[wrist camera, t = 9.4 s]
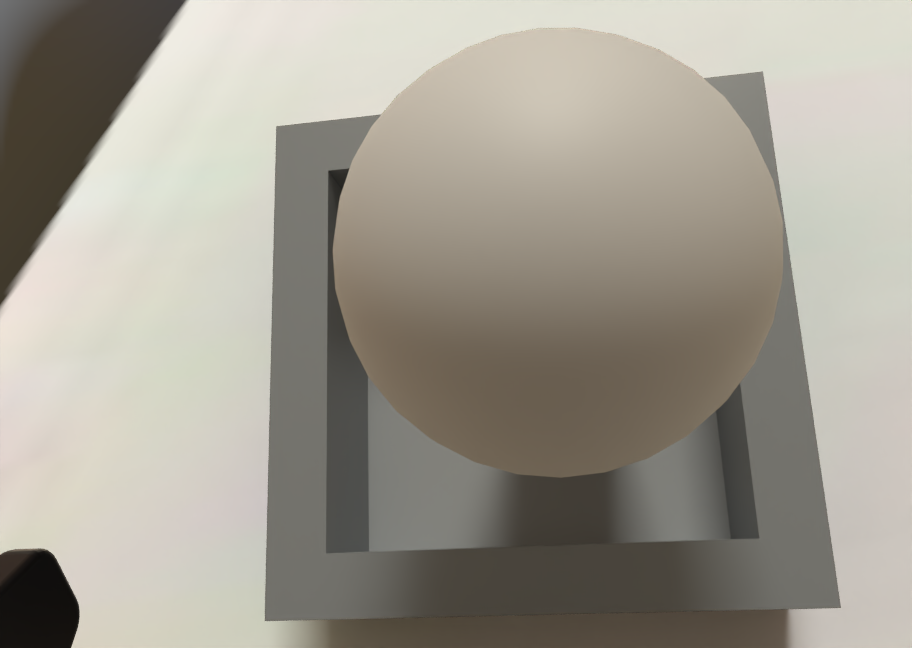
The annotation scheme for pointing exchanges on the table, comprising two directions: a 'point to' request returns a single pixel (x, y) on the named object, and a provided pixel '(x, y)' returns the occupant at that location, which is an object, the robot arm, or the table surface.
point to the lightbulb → (558, 252)
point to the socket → (514, 495)
